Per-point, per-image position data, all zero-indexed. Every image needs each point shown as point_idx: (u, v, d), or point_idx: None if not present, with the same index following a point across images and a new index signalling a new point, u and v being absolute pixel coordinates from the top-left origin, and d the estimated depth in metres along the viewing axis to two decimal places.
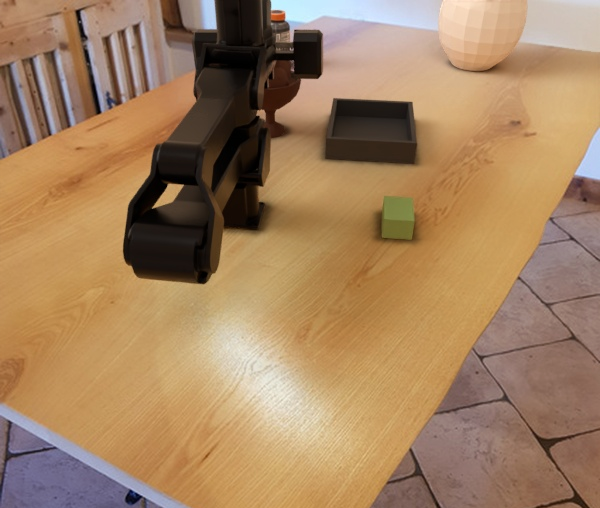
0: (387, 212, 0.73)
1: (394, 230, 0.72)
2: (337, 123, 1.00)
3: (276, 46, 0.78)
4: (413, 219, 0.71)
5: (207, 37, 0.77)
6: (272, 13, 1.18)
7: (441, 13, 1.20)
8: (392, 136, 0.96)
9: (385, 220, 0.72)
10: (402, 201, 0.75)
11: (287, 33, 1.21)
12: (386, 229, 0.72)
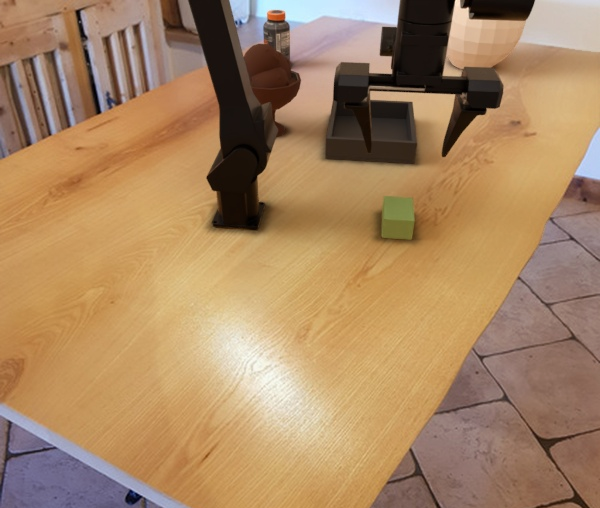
0: (387, 212, 0.73)
1: (394, 230, 0.72)
2: (337, 123, 1.00)
3: None
4: (413, 219, 0.71)
5: None
6: (272, 13, 1.18)
7: None
8: (392, 136, 0.96)
9: (385, 220, 0.72)
10: (402, 201, 0.75)
11: (287, 33, 1.21)
12: (386, 229, 0.72)
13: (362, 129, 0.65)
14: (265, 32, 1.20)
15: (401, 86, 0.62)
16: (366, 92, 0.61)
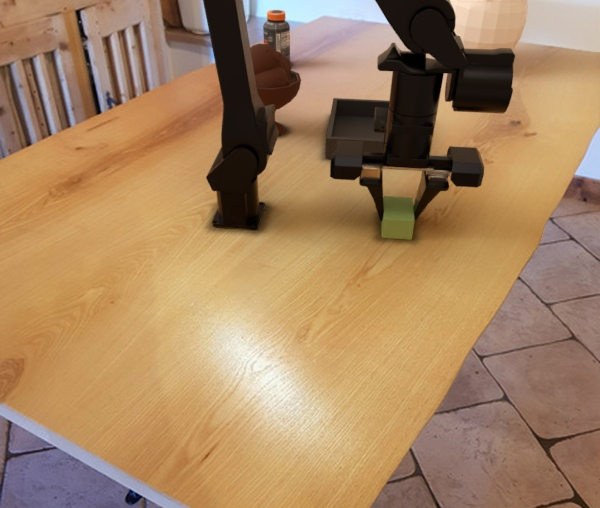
0: (387, 212, 0.73)
1: (394, 230, 0.72)
2: (337, 123, 1.00)
3: None
4: (413, 219, 0.71)
5: None
6: (272, 13, 1.18)
7: None
8: None
9: (385, 220, 0.72)
10: (401, 201, 0.75)
11: (287, 33, 1.21)
12: (386, 229, 0.72)
13: (375, 202, 0.71)
14: (265, 32, 1.20)
15: None
16: (360, 171, 0.67)
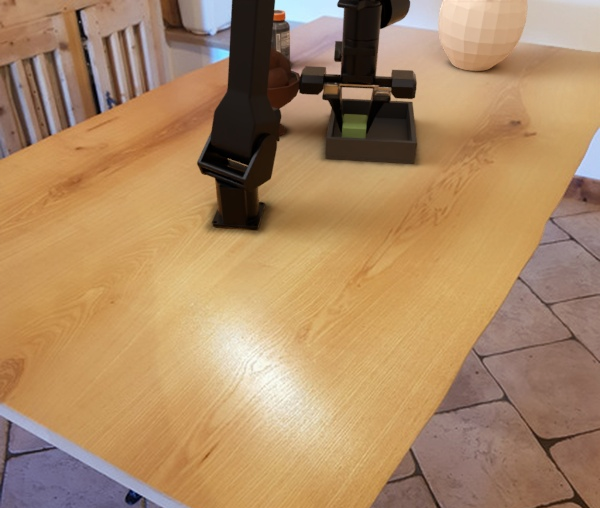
0: (345, 123, 0.93)
1: (351, 137, 0.93)
2: (337, 123, 1.00)
3: None
4: (365, 128, 0.92)
5: None
6: None
7: (441, 13, 1.20)
8: (392, 136, 0.96)
9: (343, 129, 0.92)
10: (358, 117, 0.95)
11: (287, 33, 1.21)
12: None
13: (335, 114, 0.92)
14: None
15: (362, 83, 0.88)
16: (322, 87, 0.88)
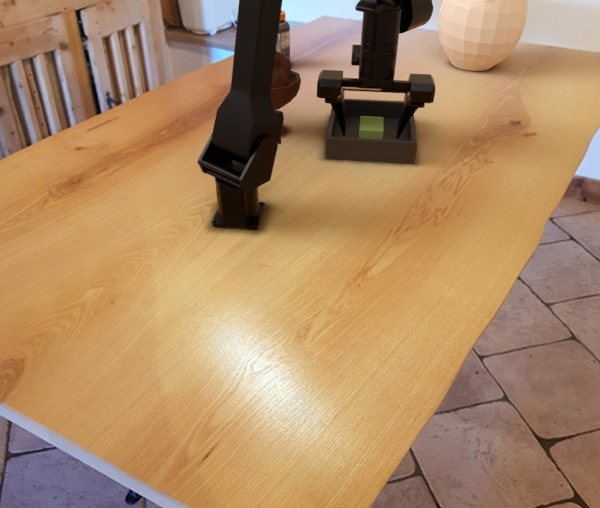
0: (362, 125, 0.92)
1: None
2: (337, 123, 1.00)
3: None
4: (382, 130, 0.91)
5: None
6: None
7: (441, 13, 1.20)
8: (392, 136, 0.96)
9: (360, 131, 0.91)
10: (374, 119, 0.95)
11: (287, 33, 1.21)
12: None
13: (338, 118, 0.91)
14: None
15: (364, 87, 0.88)
16: (339, 91, 0.87)
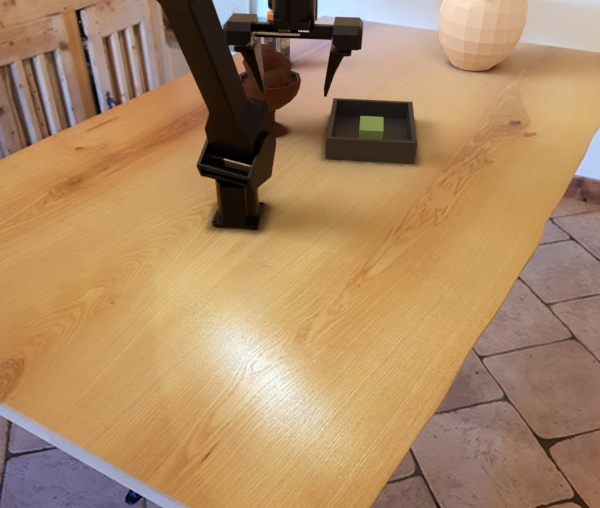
0: (362, 125, 0.92)
1: None
2: (337, 123, 1.00)
3: None
4: (382, 130, 0.91)
5: None
6: (272, 13, 1.18)
7: (441, 13, 1.20)
8: (392, 136, 0.96)
9: (360, 131, 0.91)
10: (374, 119, 0.95)
11: None
12: None
13: (252, 70, 0.77)
14: None
15: (280, 32, 0.74)
16: (249, 36, 0.73)
